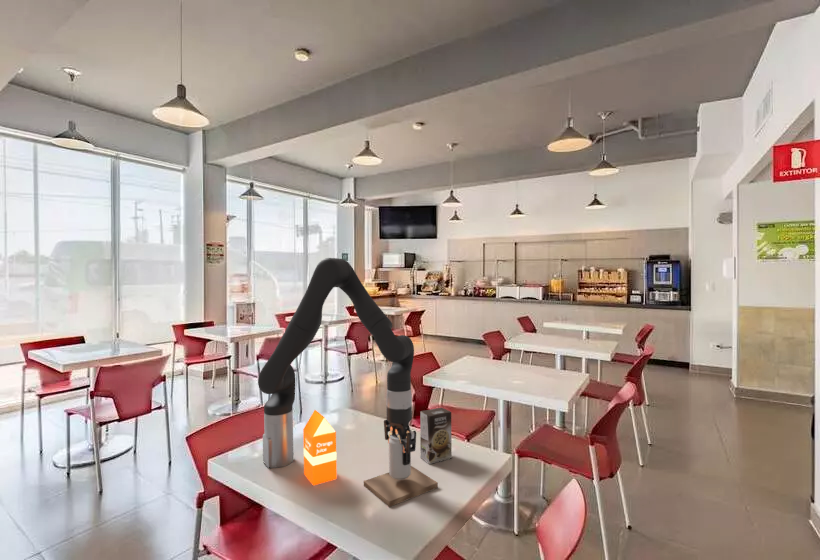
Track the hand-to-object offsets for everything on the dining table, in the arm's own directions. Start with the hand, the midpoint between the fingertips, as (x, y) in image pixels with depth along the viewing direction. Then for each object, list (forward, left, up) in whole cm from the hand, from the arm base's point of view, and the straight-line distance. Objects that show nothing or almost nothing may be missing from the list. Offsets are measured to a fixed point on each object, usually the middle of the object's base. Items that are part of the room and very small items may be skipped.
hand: (399, 459), depth 123 cm
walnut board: (0, 0, -8) cm, 8 cm away
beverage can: (0, 0, -5) cm, 5 cm away
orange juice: (-16, +20, -8) cm, 27 cm away
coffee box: (+21, +8, -8) cm, 24 cm away
